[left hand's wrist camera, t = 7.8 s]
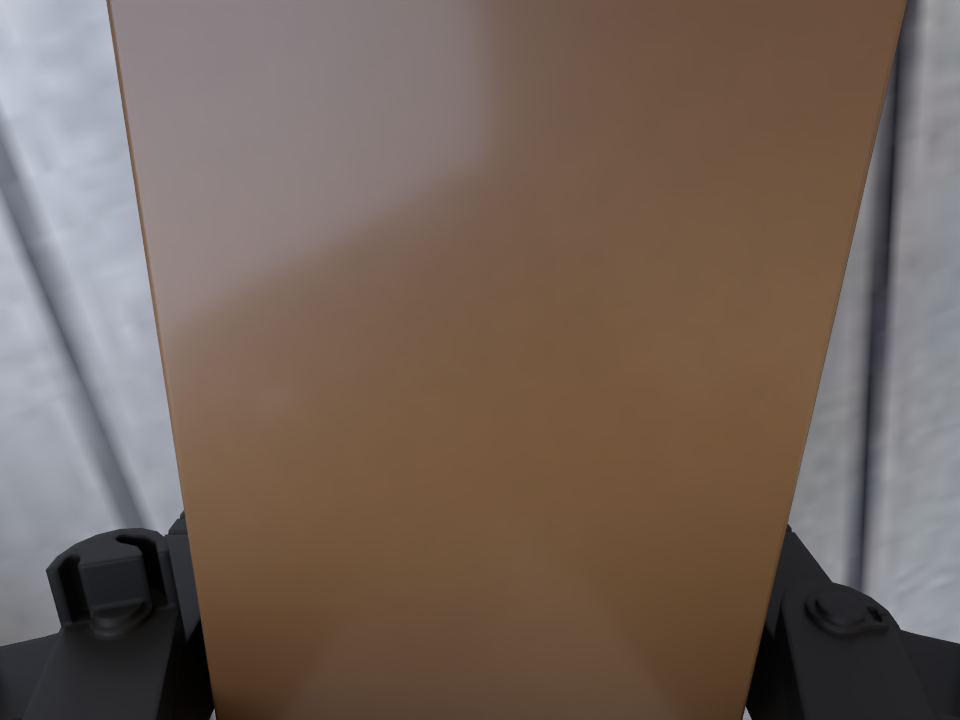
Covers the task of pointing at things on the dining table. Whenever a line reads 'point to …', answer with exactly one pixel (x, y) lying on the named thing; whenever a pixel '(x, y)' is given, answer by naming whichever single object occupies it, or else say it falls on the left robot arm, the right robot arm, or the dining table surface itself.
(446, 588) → the post
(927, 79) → the dining table surface
